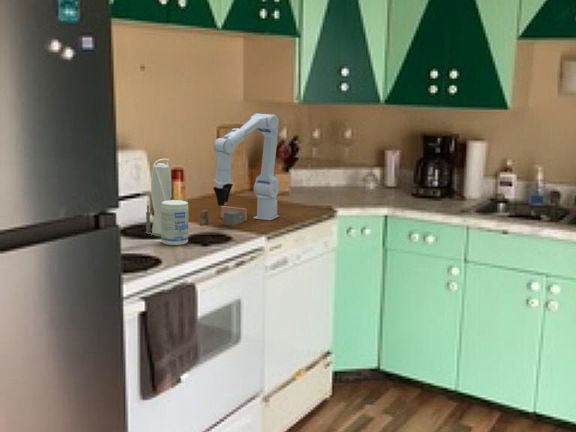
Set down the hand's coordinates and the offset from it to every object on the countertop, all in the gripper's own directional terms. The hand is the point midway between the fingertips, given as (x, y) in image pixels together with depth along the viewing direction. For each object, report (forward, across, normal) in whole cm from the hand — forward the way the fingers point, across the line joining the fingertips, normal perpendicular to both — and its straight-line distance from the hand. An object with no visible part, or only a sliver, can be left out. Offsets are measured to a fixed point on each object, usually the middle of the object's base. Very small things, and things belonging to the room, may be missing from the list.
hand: (223, 203), depth 260 cm
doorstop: (+10, -9, +3) cm, 13 cm away
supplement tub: (+10, +28, -12) cm, 32 cm away
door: (+9, -15, +2) cm, 18 cm away
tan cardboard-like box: (+10, -11, -6) cm, 16 cm away
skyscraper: (+10, +16, -20) cm, 28 cm away
